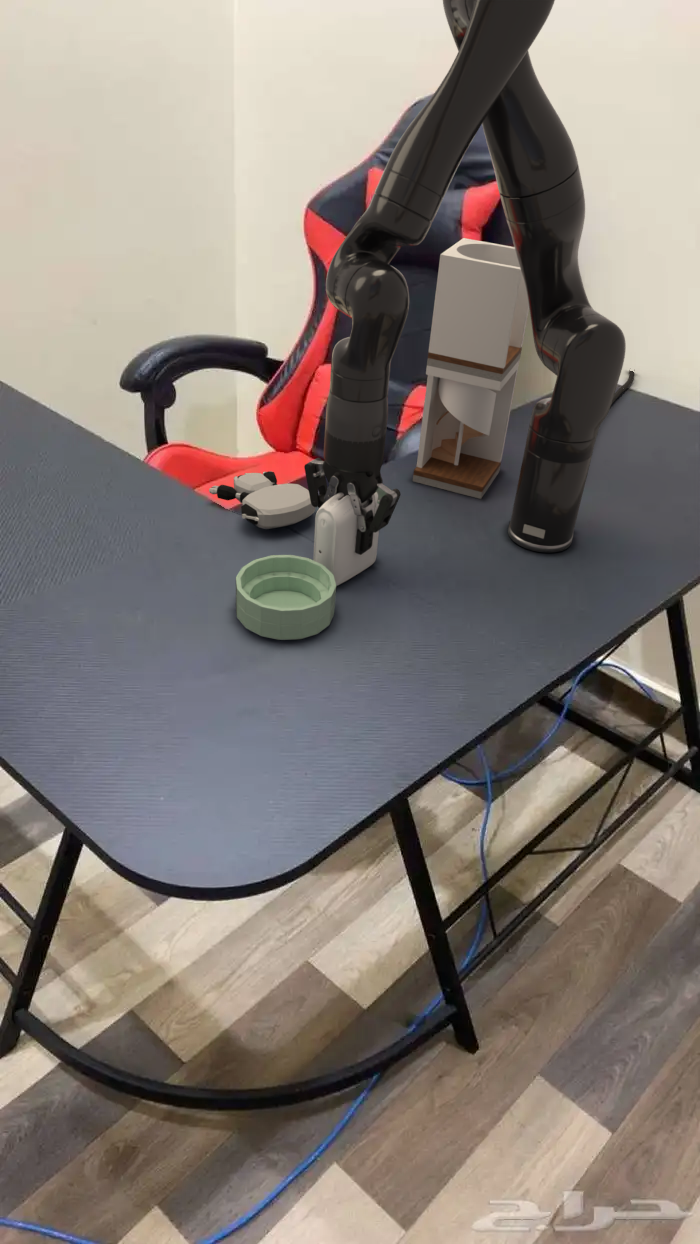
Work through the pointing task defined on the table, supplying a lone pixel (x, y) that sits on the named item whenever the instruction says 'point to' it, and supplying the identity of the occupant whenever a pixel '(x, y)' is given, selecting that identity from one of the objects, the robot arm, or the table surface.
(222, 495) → the robot toy
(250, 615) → the bowl
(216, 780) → the table surface
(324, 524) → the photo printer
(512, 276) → the white tower
